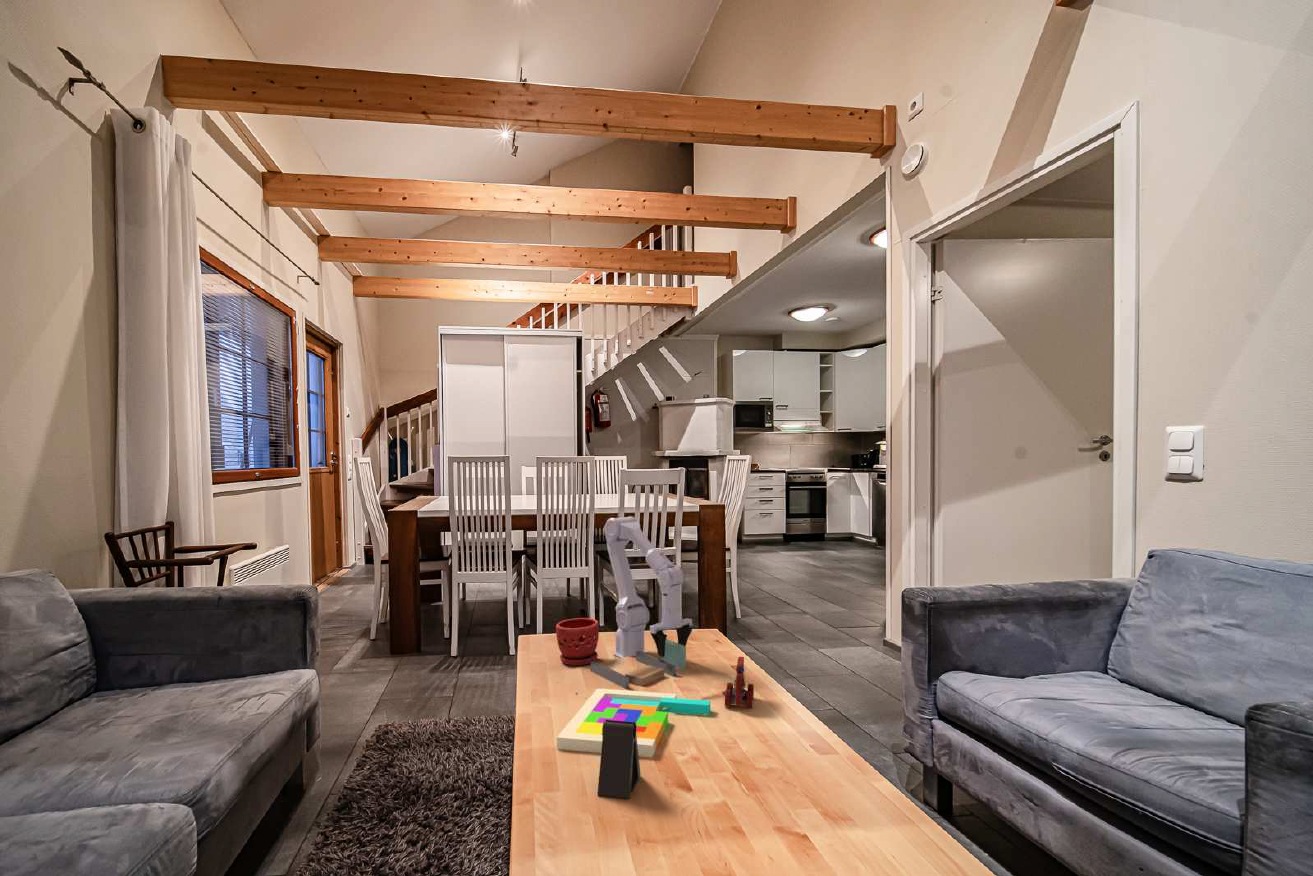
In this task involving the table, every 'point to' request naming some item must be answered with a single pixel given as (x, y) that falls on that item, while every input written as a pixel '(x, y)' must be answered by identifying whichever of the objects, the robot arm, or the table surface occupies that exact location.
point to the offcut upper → (645, 675)
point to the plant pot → (578, 640)
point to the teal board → (675, 654)
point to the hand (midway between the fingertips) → (671, 653)
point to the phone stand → (618, 759)
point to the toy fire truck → (739, 689)
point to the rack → (624, 680)
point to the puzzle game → (625, 718)
